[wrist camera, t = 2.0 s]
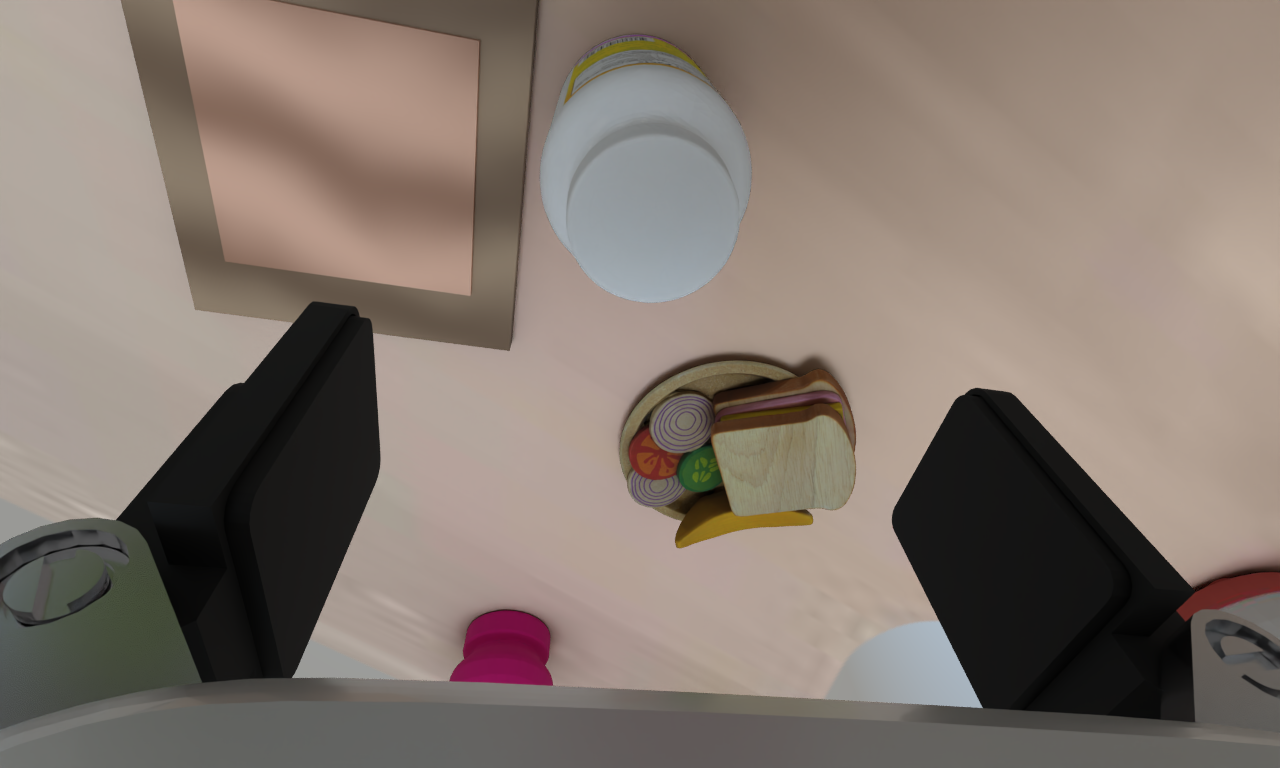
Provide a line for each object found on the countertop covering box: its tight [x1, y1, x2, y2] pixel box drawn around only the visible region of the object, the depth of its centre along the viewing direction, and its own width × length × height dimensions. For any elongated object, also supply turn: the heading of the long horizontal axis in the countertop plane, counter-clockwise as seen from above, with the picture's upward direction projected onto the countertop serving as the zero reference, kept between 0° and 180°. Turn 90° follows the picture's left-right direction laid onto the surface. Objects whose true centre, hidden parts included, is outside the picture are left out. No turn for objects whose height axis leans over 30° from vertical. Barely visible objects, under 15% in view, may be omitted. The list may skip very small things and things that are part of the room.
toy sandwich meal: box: [619, 360, 856, 548], centre depth 36 cm, size 12×14×5 cm
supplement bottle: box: [540, 35, 752, 303], centre depth 22 cm, size 7×7×13 cm
